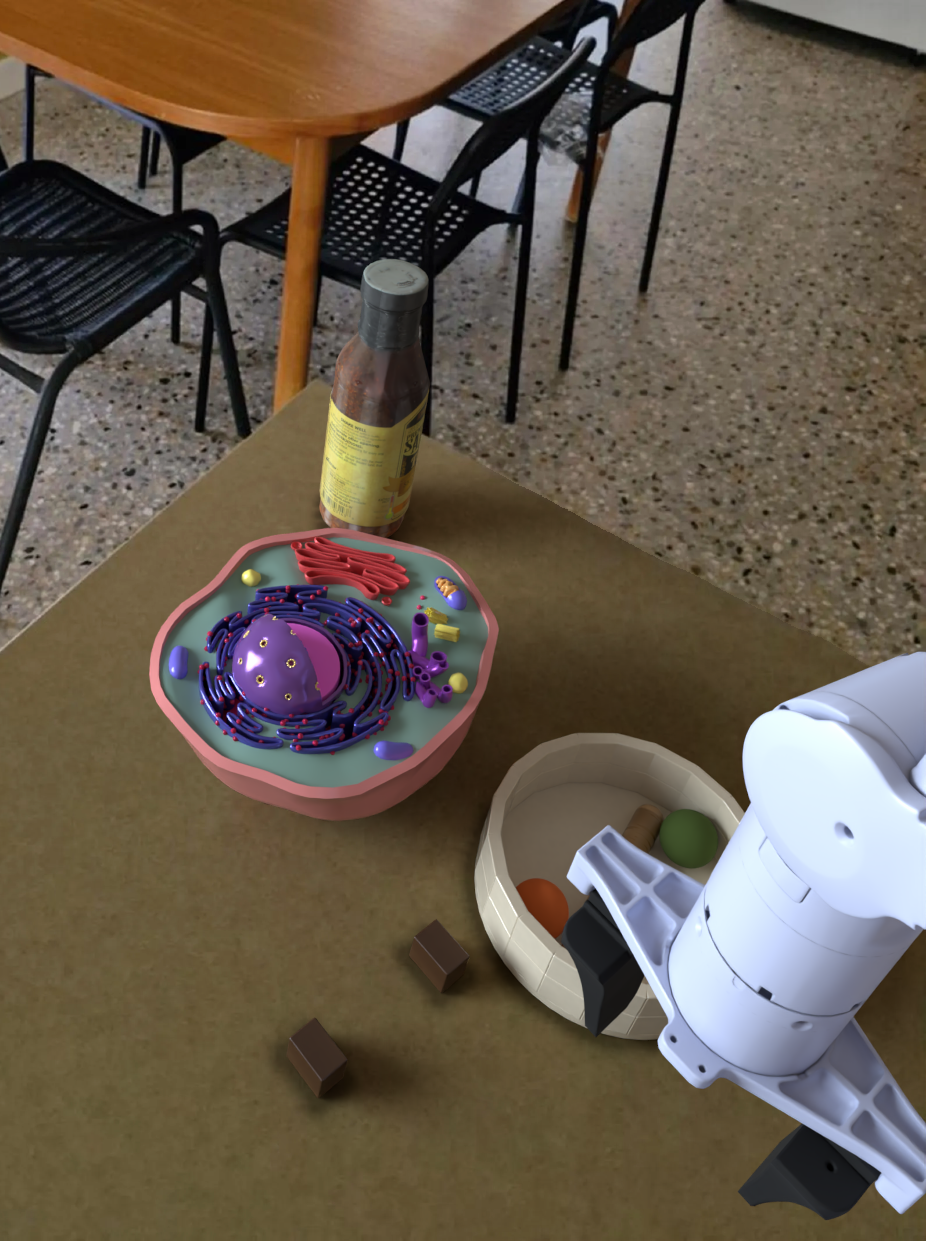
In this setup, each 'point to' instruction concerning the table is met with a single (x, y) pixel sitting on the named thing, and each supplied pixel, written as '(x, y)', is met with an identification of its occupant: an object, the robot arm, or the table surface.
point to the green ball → (688, 838)
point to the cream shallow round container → (553, 833)
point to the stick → (643, 828)
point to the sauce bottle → (377, 405)
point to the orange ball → (545, 904)
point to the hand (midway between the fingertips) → (679, 1095)
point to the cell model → (327, 670)
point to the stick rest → (321, 1054)
